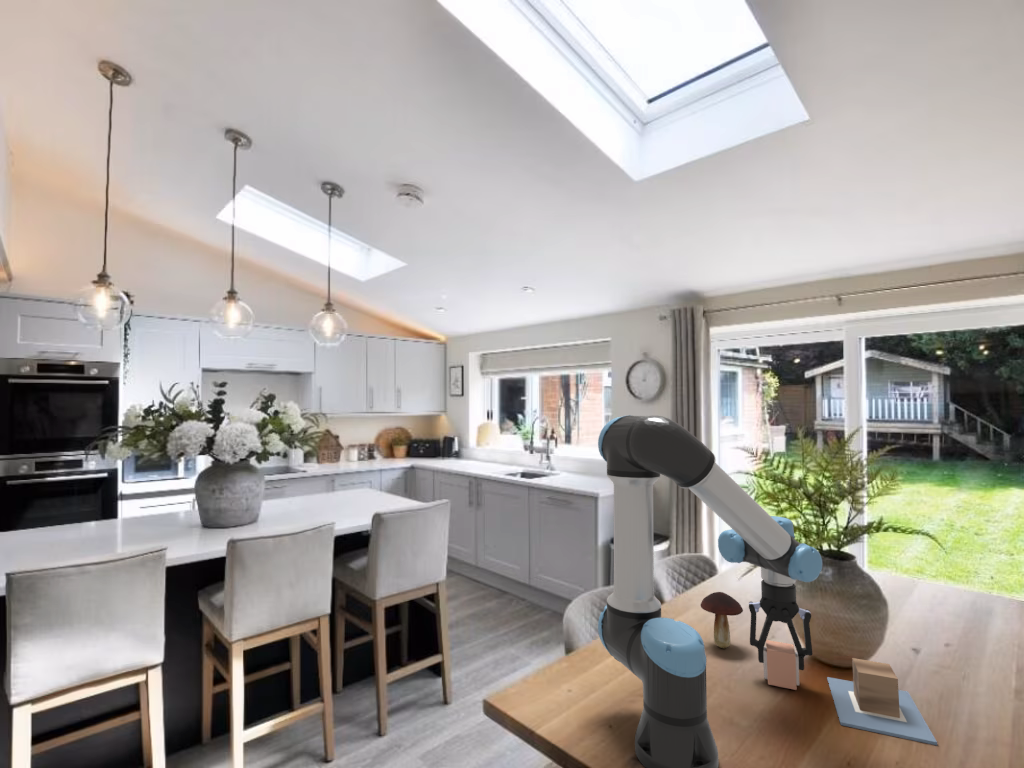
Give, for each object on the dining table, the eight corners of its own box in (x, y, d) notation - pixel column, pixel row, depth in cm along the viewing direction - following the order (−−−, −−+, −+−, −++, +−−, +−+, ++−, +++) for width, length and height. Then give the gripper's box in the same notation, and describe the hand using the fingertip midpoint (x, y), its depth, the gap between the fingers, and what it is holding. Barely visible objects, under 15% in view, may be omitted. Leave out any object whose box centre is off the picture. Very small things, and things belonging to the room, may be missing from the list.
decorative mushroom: (709, 635, 149) (707, 583, 150) (748, 646, 142) (746, 591, 143) (695, 649, 140) (694, 593, 141) (737, 660, 133) (735, 602, 134)
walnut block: (899, 718, 107) (897, 678, 107) (860, 710, 109) (858, 672, 110) (891, 701, 113) (889, 664, 113) (853, 694, 116) (852, 658, 116)
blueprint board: (937, 745, 99) (937, 741, 99) (840, 725, 106) (840, 721, 106) (908, 694, 117) (907, 691, 117) (827, 679, 124) (827, 676, 124)
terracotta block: (796, 690, 118) (795, 654, 119) (767, 684, 121) (766, 649, 121) (794, 678, 124) (793, 644, 124) (767, 672, 126) (766, 639, 127)
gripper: (821, 582, 123) (825, 680, 122) (736, 572, 131) (738, 664, 130) (825, 592, 116) (829, 696, 115) (735, 580, 124) (738, 678, 123)
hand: (781, 679), depth 122 cm, fingers closed on terracotta block, 6 cm apart
